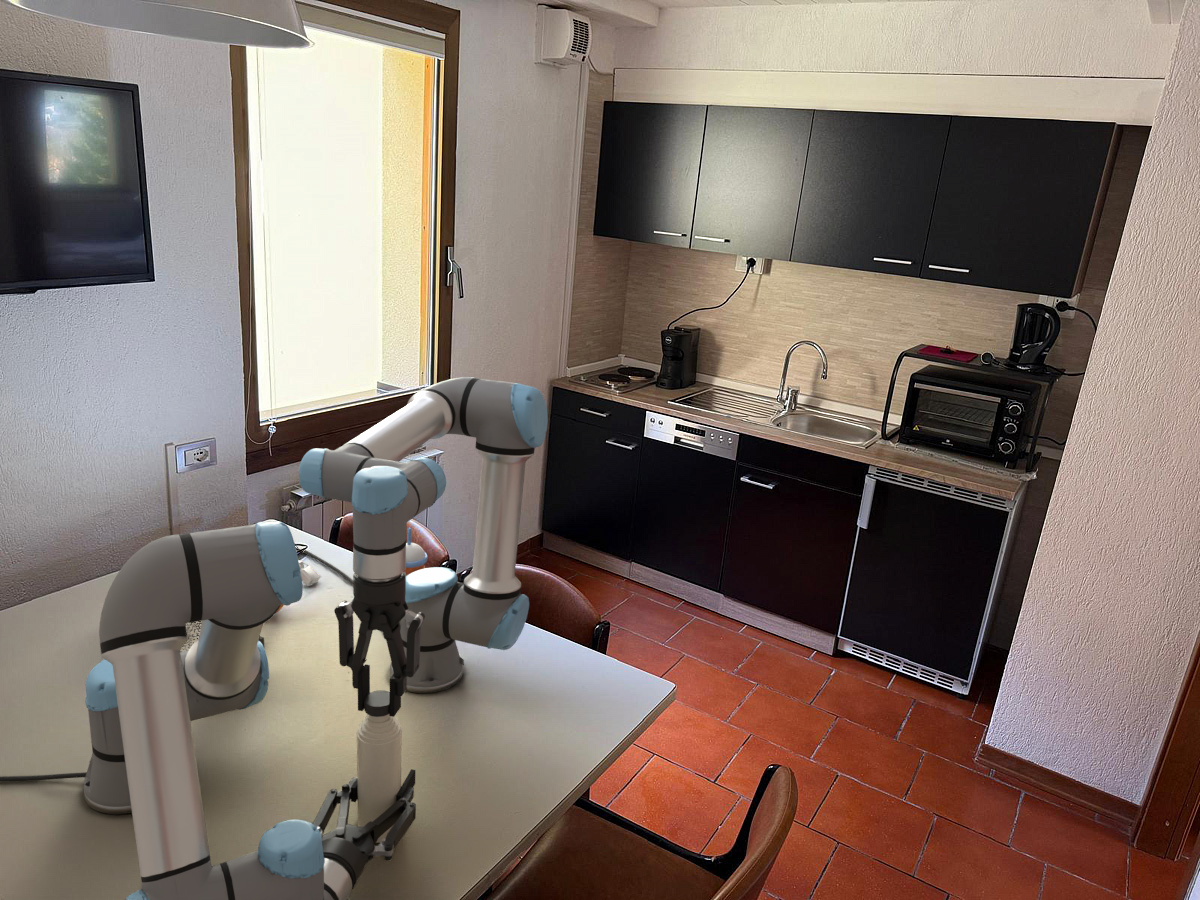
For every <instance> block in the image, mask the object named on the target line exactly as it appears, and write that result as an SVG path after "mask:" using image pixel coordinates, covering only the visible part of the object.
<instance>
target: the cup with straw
mask: <svg viewBox="0 0 1200 900" xmlns="http://www.w3.org/2000/svg"><path fill="white" fill-rule="evenodd" d="M428 558H429V557H428V554H427V552H426V551H425V550H424V549H423V547H422V546H421V545H419V544H418V543H415V542H412V527H407V539H406V569H405V573H406V576H407V575H409V574H410V573H412V572H415V571H418V570H421V569H425V568H426V566H425V564H426V563H428Z"/></svg>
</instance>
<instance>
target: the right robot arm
mask: <svg viewBox="0 0 1200 900" xmlns="http://www.w3.org/2000/svg"><path fill="white" fill-rule="evenodd" d="M548 417H549V416H548V408H547V402H546V399H545V397H544V395H543V393H542V392H541V390H540V389H538V388H537V387H536V386H535V387H534V386H531V385H526V384H523V383H519V382H511V381H502V380H493V379H486V378H477V377H471V376H462V377H461V376H460V377H454V378H449V379H446V380H442V381H440V382H437V383H433V384H432V385H429V386H427V387H424V388H423V389H421V390H419V391H418V392H416V393H414V394H413V395H411V396H410V398H409V399H408V401H407V404H406V405H405V406H404V407H402V408H400V409H399V410H397V411H395V412H393V413H392V414H391V415H389V416H387V417H386V418H384V419H383V420H381V421H379V422H378V423H377V424H374V425H373V426H371V427H370V428H368V429H367V430H365V431H363V432H362V433H360V434H358V435H357V436H355V437H354V438H352V439H351V440H349V441H348V442H346V443H344V444H343V445H342V446H339V447H337V448H336V449H334V450H333V449H329V448H318V447H317V448H311V449H309V450H308V451H306V453H305V454H304V455H303V457H302V459H301V461H300V463H299V467H298V482H299V485H300V487H301V489H302V490H303V491H304V492H305V493H307V494H309V495H313V496H317V497H321V498H323V499H329V500H336V501H342V502H348V503H351V506H352V533H353V534H352V536H353V538H352V570H353V571H352V572H353V575H352V577H353V578H351V577H349V576H348V575H347V574H346V573H344V572H343V571H342V570H340V569H339V568H337V567H336V566H334V565H332V564H331V563H330V562H328V561H326V560H324V559H322V558H321V557H319V556H317V555H316V554H313V553H312V552H310V551H308V550H306V549H305V551H304V552H303V553H304V554H306V556H307V555H308V556H309V557H311V558H313V559H315V560H316V561H318V562H320V563H321V564H323V565H325V566H326V567H328V568H329V569H331V570H332V571H334V572H336V573H338V574H339V575H340V576H341V577H343V578H344V579H345V580H346V581H348V582H349V583H350V584H351V585H352V591H353V593H352V595H353V599H352V600H351V601H347V600H342V601H341V602H340V603H338V605H337V606H336V607H335V608H334V610H333V612H334V614H335V617H336V620H337V624H338V653H339V655H338V656H339V658H338V659H339V664H340V666H341V667H347V668H350V670H351V674H352V675H351V679H352V680H351V681H352V683H351V684H352V687H353V689H355V690H356V689H357V711H358V712H363V711H364V702H365V701H364V699H365V697H366V696H367V695H368V694H369V693H371V665H370V664H365V663H366V662H367V660H368V659H367V655H368V651H369V647H370V644H371V639H372V636H373V632H374V631H379V632H381V633H382V635H383V638H384V640H385V641H386V644H387V645H386V646H387V648H388V649H387V650H388V654H389V657H390V666H389V692H390V713H389V716H392V717H394V716H395V717H396V715H397V714H398V712H399V711H400V709H401V708H402V697H403V696H404V694H405V693H406V692H410V693H416V694H430V693H431V694H432V693H438V692H441V691H445V690H447V689H450V688H451V687H453V686H455V685H456V684H457V683H458V682H459V681H460V680H461V679H462V676H463V672H464V665H465V660H464V659H463V658H462V657H461V656H460V653H459V649H458V646H457V642H462V643H467V644H471V645H475V646H479V647H484V648H487V649H489V650H490V649H494V650H501V651H507V650H509V649H511V648H512V647H513V646H514V645H515V644H516V643H517V641H518V640H519V638H520V636H521V634H522V631H523V629H524V628H525V624H526V621H527V619H528V614H529V610H530V598H529V596H528V595H526V594H525V593H524V594H523V593H522V591H521V590H522V582H521V581H520V579H519V578H518V577H517V576H516V566H517V565H516V564H517V554H518V543H519V536H520V535H519V534H520V526H521V525H520V523H521V516H522V515H521V514H522V504H523V492H524V483H525V472H526V463H527V461H528V460H529V459H531V458H532V457H533V456H534V455H535V449H536V448H539V447H541V446H542V445H543V444H544V442H545V439H546V433H547V431H548V423H549V421H548V420H549V419H548ZM445 435H459V436H465V437H470V438H475V450H476V452H477V453H478V454H479V455H480V457H481V458H482V459H481V466H480V467H481V470H480V480H479V491H478V501H477V502H478V504H477V514H476V525H475V536H474V548H473V559H472V572H470V573H469V574H468V575H467V576H465V577H464V579H463V582H460V581H458V580H459V579H458V578H459V577H458V575H457V572H456V571H454V570H453V569H451V568H448V567H441V566H440V567H439V566H433V567H425V569H421V570H418V571H415V572H412V573H410V574H409V575H407V576H406V573H405V569H406V543H407V524H408V522H410V521H411V520H413V519H414V518H415V517H416V516H418V515H419V514H421V513H423V512H424V511H425V510H427V509H428V508H431V507H432V506H434V504H435V503H436V502H437V501H438V500H439V499H440V498H441V497H442V496H443V494H444V493H445V490H446V487H447V477H446V473H445V471H444V469H443V467H441V465H440V464H439V463H438V462H436V461H435V460H434V459H431V458H428V457H418V458H414V459H410V460H409V461H407V462H402V461H403V459H405V458H406V457H408V456H409V455H410V454H411V453H413V452H414V451H416V450H418V449H419V448H420V447H421V446H423V445H424V444H425V443H427V442H428V441H430V440H437V439H440V438H442V437H445ZM354 614H355V615H356V617H357V618H358V620H359V621H360V623H359V628H358V633H357V634H358V637H357V640H356V645H355V641H354V640H355V637H354V636H355V635H354V633H355V632H354ZM456 641H457V642H456Z"/></svg>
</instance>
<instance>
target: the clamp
mask: <svg viewBox="0 0 1200 900" xmlns="http://www.w3.org/2000/svg"><path fill="white" fill-rule="evenodd" d="M298 561H299V565H300V571H301V578H302V583H303V585H305V587H309V586H312V585H314V584H316V583H318V582H319V580H320V579H321V578H322V577H321V575H320V574H319V573H318V572H317V570H315V569H314V568H313V566H312V565H310V564H309V565H308V564H307V563H305V562H304V561H303V560H301V559H300V560H299V559H298ZM305 566H306V567H305Z"/></svg>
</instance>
